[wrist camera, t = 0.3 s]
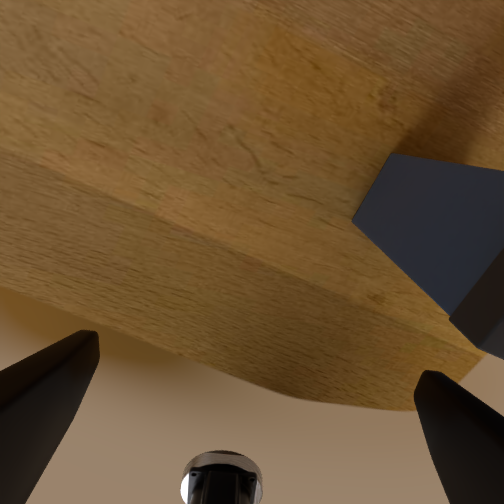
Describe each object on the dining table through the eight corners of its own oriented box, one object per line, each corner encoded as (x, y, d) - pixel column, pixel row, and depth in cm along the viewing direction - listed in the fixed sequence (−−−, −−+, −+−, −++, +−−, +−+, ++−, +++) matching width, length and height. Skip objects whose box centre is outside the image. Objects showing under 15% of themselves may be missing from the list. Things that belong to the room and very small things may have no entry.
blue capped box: (412, 251, 23) (615, 409, 10) (348, 222, 22) (476, 349, 9) (457, 184, 22) (773, 268, 8) (390, 150, 21) (616, 182, 8)
